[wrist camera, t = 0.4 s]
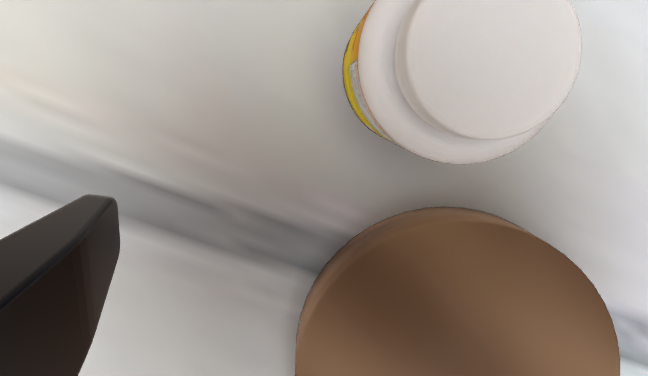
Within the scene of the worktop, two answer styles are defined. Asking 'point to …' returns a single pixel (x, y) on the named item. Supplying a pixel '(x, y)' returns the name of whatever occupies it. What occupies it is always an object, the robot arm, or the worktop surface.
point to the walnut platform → (453, 304)
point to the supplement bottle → (461, 73)
